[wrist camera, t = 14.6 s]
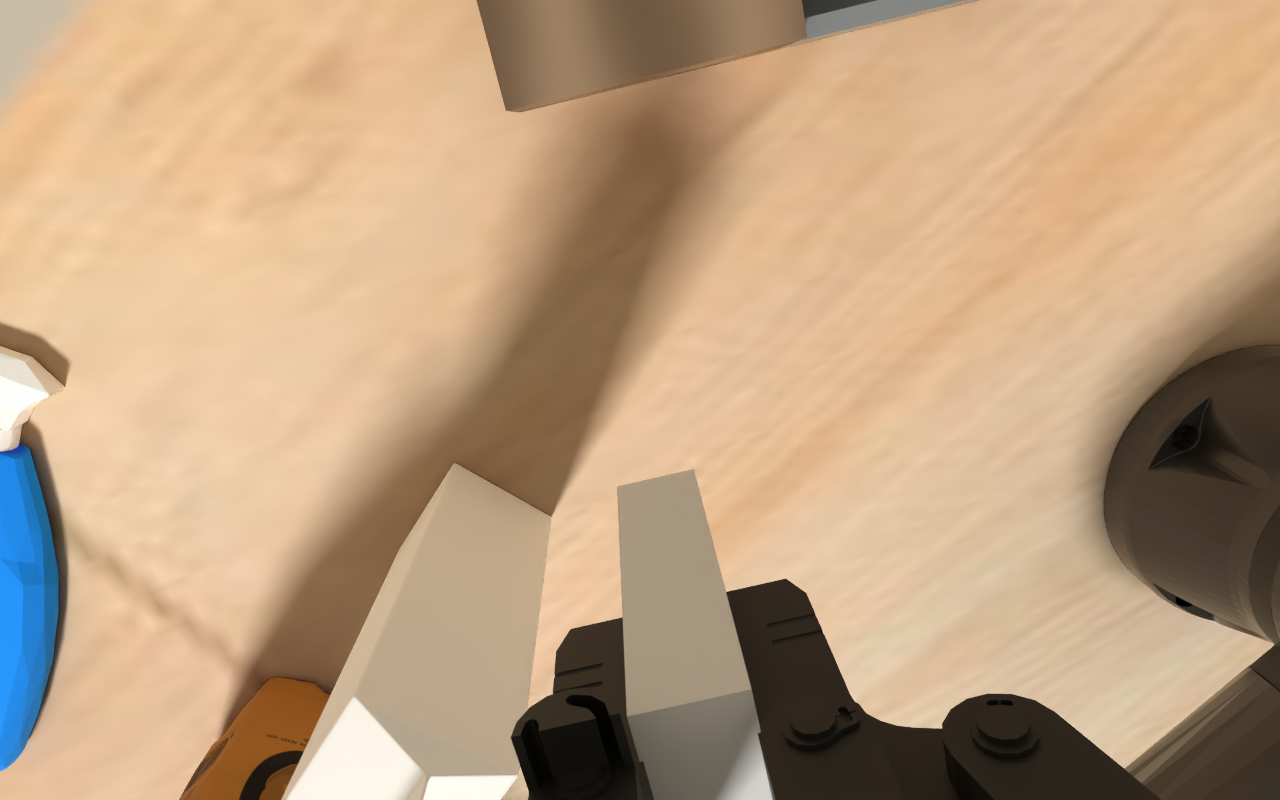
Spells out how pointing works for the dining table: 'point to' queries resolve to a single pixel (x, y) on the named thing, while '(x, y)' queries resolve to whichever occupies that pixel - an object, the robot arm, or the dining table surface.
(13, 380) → the spray bottle
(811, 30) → the box
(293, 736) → the coffee package
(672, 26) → the block
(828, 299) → the dining table surface
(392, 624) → the milk
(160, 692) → the dining table surface
